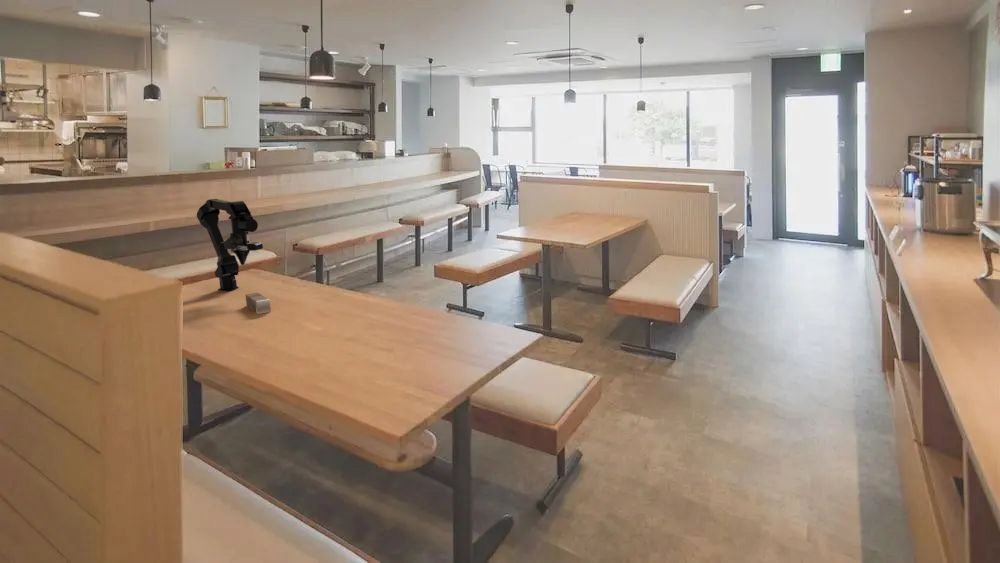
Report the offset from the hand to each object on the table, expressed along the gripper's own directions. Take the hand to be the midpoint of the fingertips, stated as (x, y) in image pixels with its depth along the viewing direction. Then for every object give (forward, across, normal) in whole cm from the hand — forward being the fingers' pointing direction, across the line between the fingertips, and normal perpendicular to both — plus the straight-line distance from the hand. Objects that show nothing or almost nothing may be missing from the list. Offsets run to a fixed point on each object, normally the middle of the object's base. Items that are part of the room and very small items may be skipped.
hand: (242, 264), depth 278 cm
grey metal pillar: (+11, +16, -16) cm, 25 cm away
